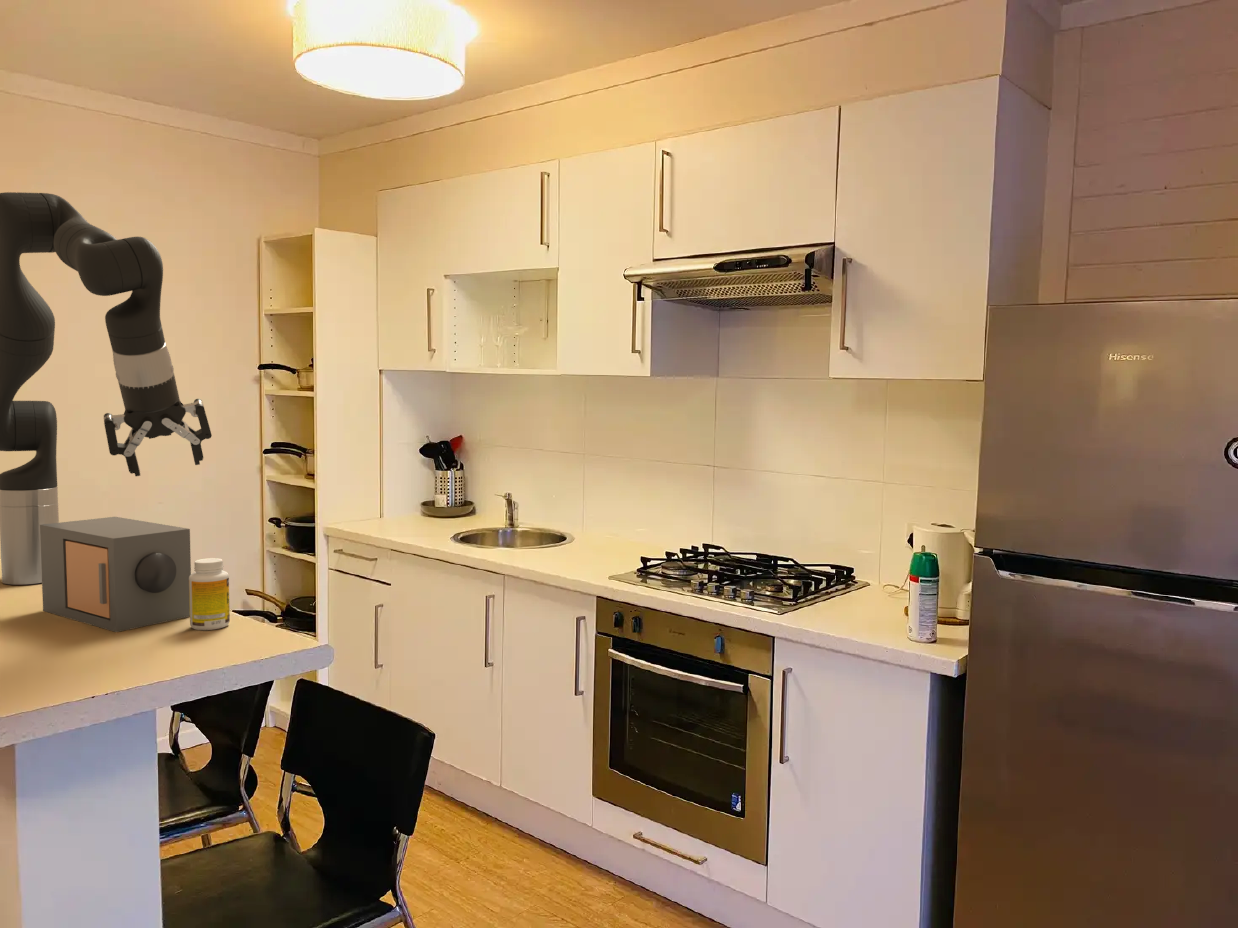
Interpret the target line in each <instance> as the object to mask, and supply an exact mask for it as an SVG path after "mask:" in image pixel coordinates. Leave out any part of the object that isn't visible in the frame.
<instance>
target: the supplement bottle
mask: <svg viewBox="0 0 1238 928" xmlns="http://www.w3.org/2000/svg"><path fill="white" fill-rule="evenodd" d="M193 564H194V567H193V568H194V572H193V573H192V572H191V575H190V576H189V605H190V617H189V625H190V627H191V628H192V629H193V630H197V631H213V630H219V629H223V628H225V627H227V626H228V625H229V624H230V616H231V615H230V613H231V612H230V575H229V573H228V571H225V570H224V560H223V559H222V558H217V557H208V558H201V559H196V560H195V561H194V563H193Z"/></svg>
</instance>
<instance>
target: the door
mask: <svg viewBox="0 0 1238 928" xmlns="http://www.w3.org/2000/svg"><path fill="white" fill-rule="evenodd" d="M66 568H67V597H68V607H70V608H74V609H77V610H81V611H85V612H88V613H92V614H95V615H99V616H103V617H106V618H110V590H109V558H108V547H103V546H98V545H93V544H88V543H83V542H78V541H73V540H69V541H66Z"/></svg>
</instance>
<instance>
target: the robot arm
mask: <svg viewBox="0 0 1238 928" xmlns="http://www.w3.org/2000/svg"><path fill="white" fill-rule="evenodd" d="M36 253H37V254H38V253H41V254H42V253H43V254H44V253H47V254H48V253H49V254H52V253H55V254H56V255H57V257H58V258H59V259H60V261H61V262H62V263H63V264H65V266H67V267H69V268H71V269H72V270H74V271H76V272H78V276H79V278H80V281H81V283H82V284H83V286H84V287H85V289H86V290H87V291H89V292H90V293H91V294H92V295H96V296H102V297H108V296H114V295H119V294H122V293H123V294H124V293H129V292H131V294H130V295H129V297H128V298H127V299H126V300H124V301H123V302H120V303H118V304H117V305H114V306H112V307H111V308H110V309H108V310H107V312H106V313H105V316H104V320H105V321H104V322H105V327H106V330H107V334H108V338H109V342H110V346H111V351H112V359H113V360H112V361H113V366H114V371H115V378H116V379H117V382H118V383H117V384H118V387H119V390H120V394H121V398H122V402H123V403H122V404H123V406H124V412H123V413H122V414H114V415H113V414H112V413H110V412H106V413H104V414H103V422H104V423H103V425H104V430H105V434H106V441H107V445H108V446H107V447H108V451H109V454H110V455H111V456H117V455H121V456H123V457H124V458H125V460H126V461H125V462H126V464H127V469H128V472H129V473H130V474H131V475H132V474H134V475H135V477H140V476H141V469H140V466H139V462H138V458H137V454H136V450H137V448H138V447H139V446H140V445H141V443H142V442H143V439H145V438H148V439H149V440H150V439H156V438H158V437H168V436H172V434H173V433H175V434H177V435H179V436H180V437H181V438H183V439H184V440H186V441H188V442H189V443H190V448H191V452H192V458H193V462H194V464H195V466H198V465H201V463H200V462H202V461H203V460H204V454H203V449H202V448H203V447H202V445H201V444H202V441H205V440H209V439H211V438H212V431H211V428H210V425H209V420H208V418H207V417H208V416H207V413H206V411H205V406H204V402H203V400H202V399H200V398H196V399H194V401H193V402H189V403H185V404H184V403H182V401H181V399H180V394H179V390H178V386H177V385H178V384H177V380H176V376H175V373H174V366H173V362H172V359H171V354H170V352H169V350H168V347H167V344H166V340H165V335H164V330H163V325H162V321H161V300H162V299H161V297H162V296H161V295H162V286H163V279H164V263H163V259H162V255H161V253H160V251H159V250H158V248H157V247H156V245H155V244H154V243H153V242H152V241H150V240H149V239H147V238H146V237H143V236H130V237H124V238H120V239H117V238H116V237H115V236H114V235H112V234H111V233H110V232H108V231H105V230H104V229H102V228H99V227H97V226H95V225H93V224H92V223H90V222H88V221H87V220H86V219H85V217H83V215H82V213H80V212H78V210H77V209H76V208H75V207H74V206H73V205H72V204H71V203H70V202H68V201H67V200H66V199H65V198H63V197H61V196H59V195H57V194H53V193H48V192H19V191H17V192H11V191H10V192H9V191H8V192H0V452H35V456H34V457H33V458H32V459H31V460H29V461H27V462H26V463H24V464H22V465H20V466H18V467H14V468H11V469H7V470H6V471H3V472H1V473H0V564H1V565H0V566H1V583H3V584H5V585H14V586H15V585H34V584H42V568H41V541H40V525H42V524H51V523H60V520H59V519H60V518H59V497H58V495H59V494H58V493H59V491H58V468H57V467H58V466H57V443H58V441H57V440H58V417H57V411H56V408H55V407H54V404H53V403H52V402H50V401H48V400H14V398H15V396H16V395H17V393H18V392H19V390H20V389H21V387H22V386H23V385H24V384H25V383H27V381H28V380H30V378H32V377H33V376H34V375H35V374H36V373H37V372H38V371H39V370H41V368H42V367H44V365H45V364H46V363H47V361H48V360H49V359H50V358H51V355H52V353H53V350H54V346H55V345H54V343H55V333H56V331H55V329H56V319H55V316H54V313H53V311H52V309H51V307H50V306H49V304H48V303H47V302H46V301H45V299H44V298H43V296H42V295H41V294H40V293H39V292H38V291H37V290H36V289H35V288H34V287H33V286H32V284H31V283H30V281H29V280H28V278H27V276H26V275H25V273H24V272H23V270H22V268H21V265H20V263H21V262H20V258H21V255H22V254H36ZM186 413H189V414H190V415H191V416H192V417H193V418H197V419H198V422H199V425H200V429H197V430H196V429H194V428H192V427H191V426H190V425H189V424H188V423H187V422H186V421H185V420H183V419H184V417H185V416H186ZM123 423H125V425H127V426H128V427H130V428H131V430H130V431H129V433H128V436H127V438H126V439H125V441H124V443H123V442H122V443H121V442H118V438H117V433H116V431H118V430H120V429H121V426H122V424H123Z"/></svg>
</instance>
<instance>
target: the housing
mask: <svg viewBox="0 0 1238 928" xmlns="http://www.w3.org/2000/svg"><path fill="white" fill-rule="evenodd" d="M69 540H73V541H78V542H83V543H88V544H93V545H98V546H103V547H108V558H109V590H110V618H106V617H103V616H99V615H95V614H92V613H88V612H85V611H81V610H77V609H74V608H70V607H68V597H67V568H66V541H69ZM40 541H41V568H42V583H41V586H42V587H41V589H42V591H41V592H42V593H41V594H42V611H43V612H45V613H50V614H54V615H56V616H59V617H64V618H67V619H69V620H70V619H71V620H73V621H77V622H81V623H83V624H87V625H90V626H95V627H97V628H101V629H103V630H108V631H111V632H115V633H119V632H122V631H127V630H133V629H138V628H141V627H147V626H151V625H157V624H161V623H165V622H170V621H175V620H180V619H186V618H190V605H189V576H190V575H191V574H192V569H191V568H192V565H191V564H192V562H191V559H192V558H191V557H192V556H191V528H187V527H181V526H175V525H170V524H169V525H168V524H162V523H157V522H149V521H146V520H145V521H144V520H139V519H134V518H133V519H131V518H126V517H120V516H109V517H108V516H107V517H99V518H90V519H82V520H81V519H80V520H72V521H71V520H70V521H61V522H59V523H51V524H42V525H40Z"/></svg>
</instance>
